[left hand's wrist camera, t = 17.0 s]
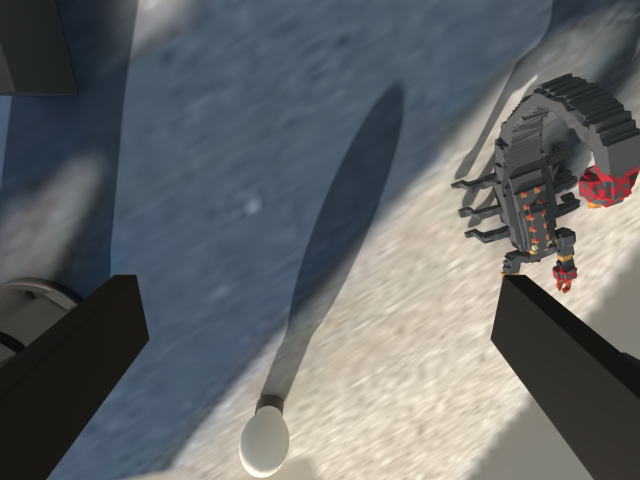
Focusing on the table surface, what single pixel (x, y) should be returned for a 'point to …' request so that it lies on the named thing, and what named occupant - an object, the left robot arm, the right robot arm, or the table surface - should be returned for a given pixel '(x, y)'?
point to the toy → (534, 176)
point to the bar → (33, 50)
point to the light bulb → (265, 438)
